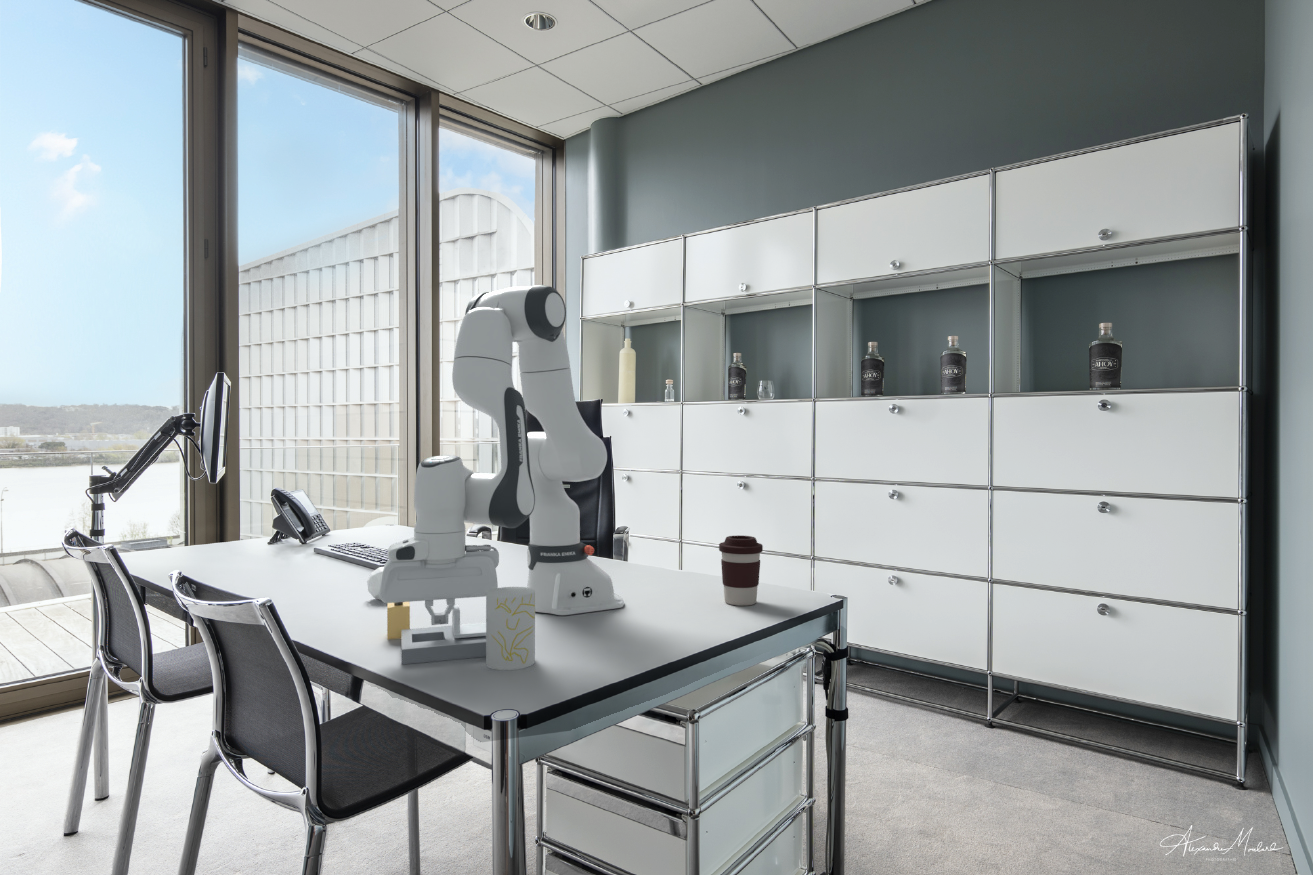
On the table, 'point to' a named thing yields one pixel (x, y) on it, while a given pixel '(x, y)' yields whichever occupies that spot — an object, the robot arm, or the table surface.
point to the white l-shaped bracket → (466, 626)
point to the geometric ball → (375, 582)
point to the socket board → (439, 645)
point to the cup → (510, 628)
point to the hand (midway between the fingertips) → (439, 623)
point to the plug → (397, 619)
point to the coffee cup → (740, 569)
